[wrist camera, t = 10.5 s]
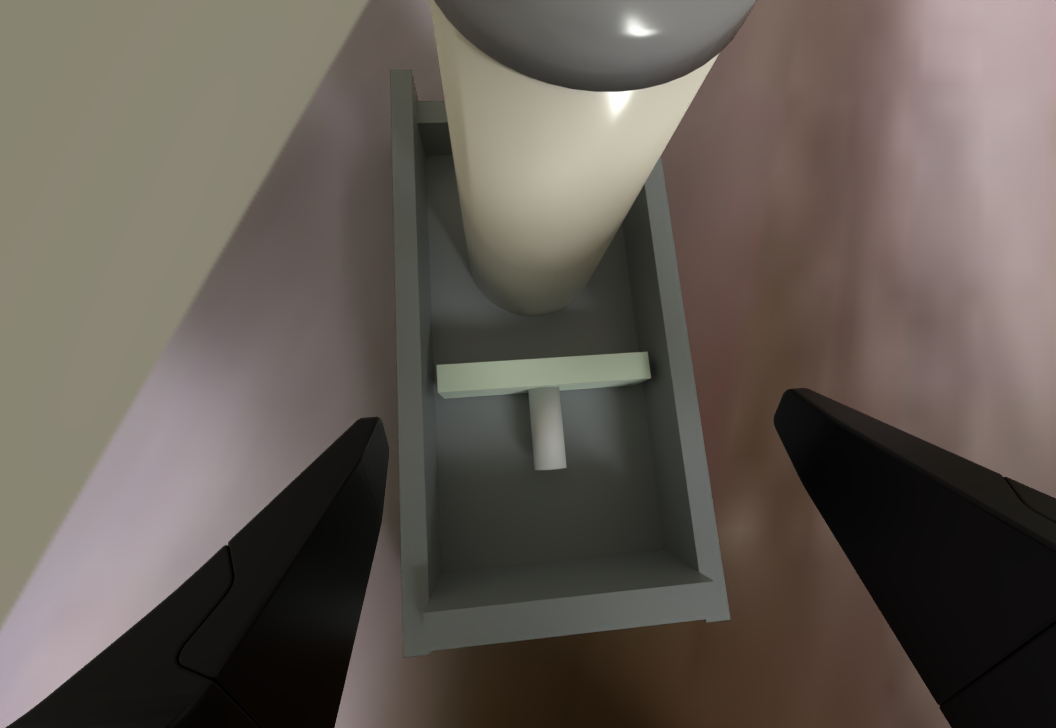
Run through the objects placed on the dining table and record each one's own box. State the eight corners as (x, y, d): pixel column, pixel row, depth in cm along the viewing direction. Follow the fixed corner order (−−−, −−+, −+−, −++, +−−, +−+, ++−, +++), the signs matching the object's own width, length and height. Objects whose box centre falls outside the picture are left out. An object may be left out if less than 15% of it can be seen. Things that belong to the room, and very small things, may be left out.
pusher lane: (692, 583, 17) (761, 631, 13) (413, 613, 16) (380, 676, 12) (630, 131, 21) (666, 44, 16) (400, 136, 20) (371, 46, 16)
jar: (587, 327, 18) (798, 63, 6) (456, 308, 18) (362, -15, 5) (600, 208, 19) (801, -243, 7) (476, 188, 19) (437, -323, 6)
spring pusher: (643, 459, 17) (662, 460, 15) (447, 475, 17) (440, 479, 15) (631, 361, 18) (647, 351, 16) (443, 374, 17) (436, 365, 15)
